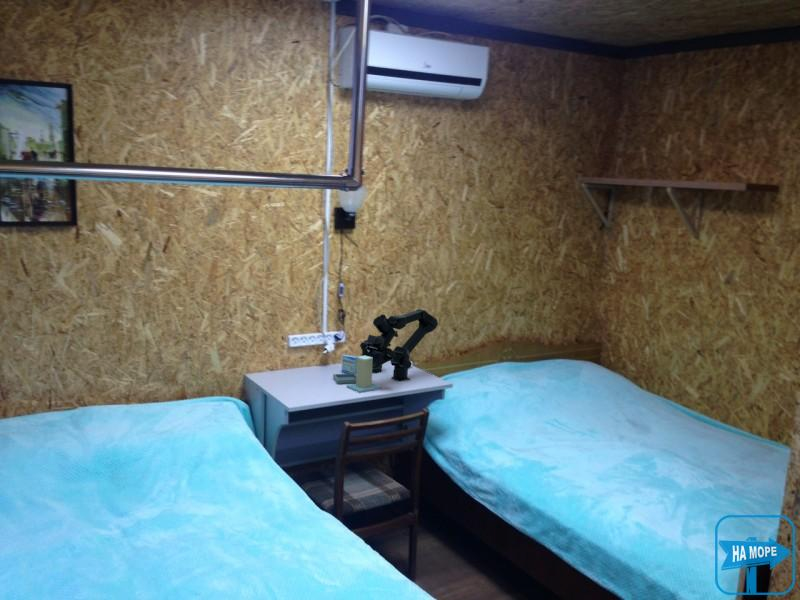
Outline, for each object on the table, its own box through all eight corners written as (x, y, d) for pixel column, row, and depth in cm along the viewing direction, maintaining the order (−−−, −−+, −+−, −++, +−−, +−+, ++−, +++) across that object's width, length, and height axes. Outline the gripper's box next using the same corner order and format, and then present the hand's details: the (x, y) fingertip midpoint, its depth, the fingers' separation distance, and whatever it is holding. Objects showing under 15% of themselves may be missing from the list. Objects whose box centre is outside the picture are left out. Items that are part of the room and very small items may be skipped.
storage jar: (358, 369, 345) (360, 340, 343) (375, 367, 351) (376, 338, 348) (368, 374, 337) (370, 344, 335) (385, 372, 343) (387, 343, 340)
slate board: (367, 383, 320) (367, 381, 320) (380, 389, 313) (380, 387, 312) (346, 387, 313) (346, 385, 313) (359, 392, 305) (359, 390, 305)
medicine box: (341, 372, 338) (341, 355, 336) (346, 370, 342) (346, 353, 340) (354, 375, 334) (355, 358, 333) (359, 373, 338) (360, 356, 337)
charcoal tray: (354, 377, 330) (354, 373, 330) (359, 383, 320) (360, 379, 320) (333, 378, 327) (333, 374, 326) (337, 384, 317) (337, 380, 316)
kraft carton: (363, 384, 316) (364, 355, 314) (371, 386, 313) (372, 357, 311) (356, 385, 312) (357, 356, 310) (363, 388, 309) (364, 359, 307)
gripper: (363, 325, 320) (345, 351, 314) (392, 331, 308) (374, 359, 301) (374, 339, 327) (357, 365, 321) (403, 346, 315) (385, 373, 309)
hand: (368, 365), depth 313 cm, fingers open, 9 cm apart
